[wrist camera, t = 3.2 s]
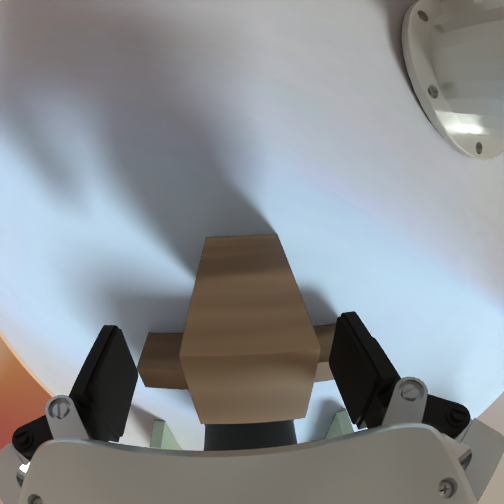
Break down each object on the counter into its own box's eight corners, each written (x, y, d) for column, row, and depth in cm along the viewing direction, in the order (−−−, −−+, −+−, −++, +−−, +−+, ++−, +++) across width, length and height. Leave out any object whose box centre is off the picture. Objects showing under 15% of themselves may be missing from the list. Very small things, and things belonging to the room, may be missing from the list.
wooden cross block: (125, 242, 15) (46, 343, 7) (358, 231, 16) (448, 323, 7) (155, 352, 19) (129, 455, 11) (338, 342, 19) (378, 441, 11)
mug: (183, 373, 20) (167, 502, 10) (297, 360, 20) (328, 493, 10) (217, 436, 25) (217, 524, 15) (298, 427, 25) (315, 515, 15)
